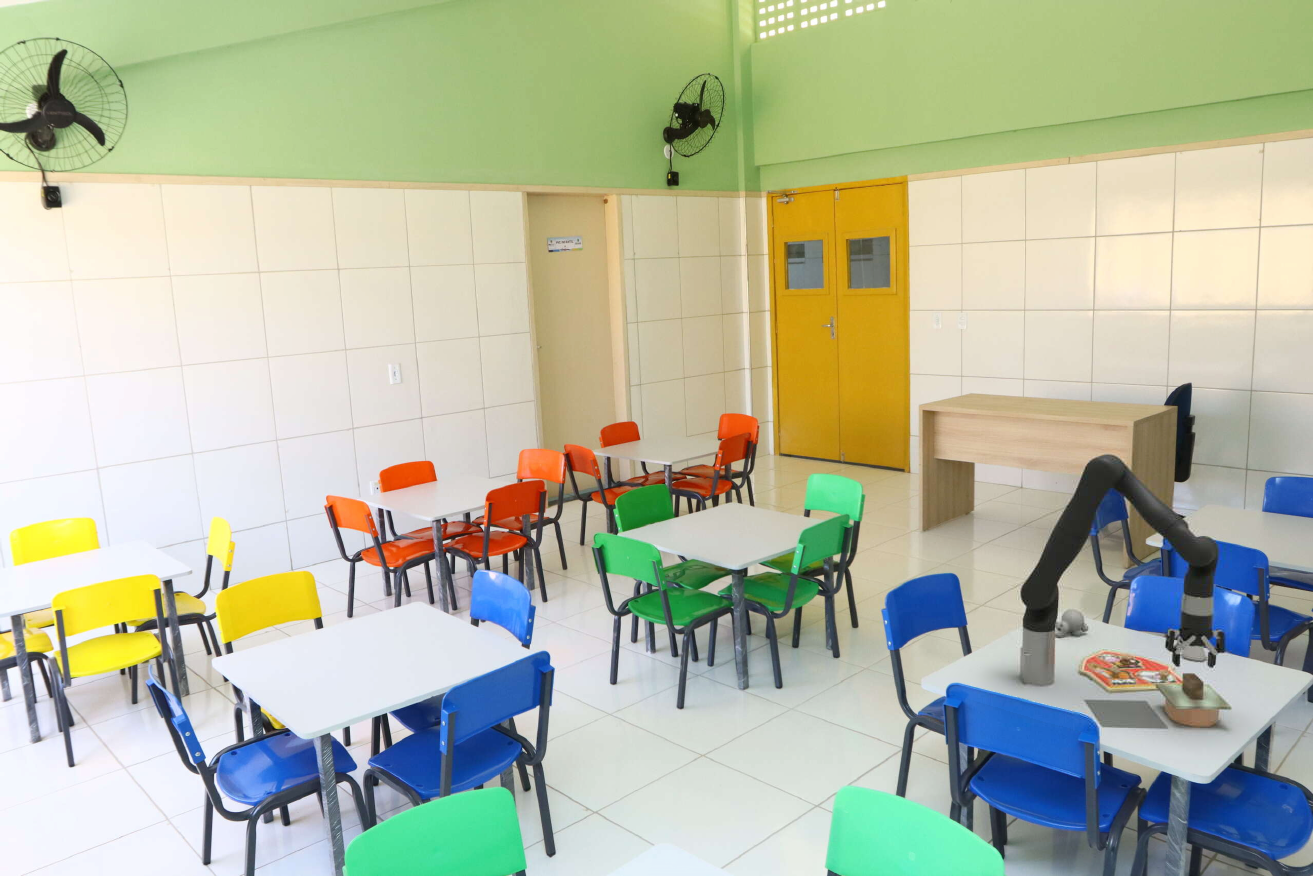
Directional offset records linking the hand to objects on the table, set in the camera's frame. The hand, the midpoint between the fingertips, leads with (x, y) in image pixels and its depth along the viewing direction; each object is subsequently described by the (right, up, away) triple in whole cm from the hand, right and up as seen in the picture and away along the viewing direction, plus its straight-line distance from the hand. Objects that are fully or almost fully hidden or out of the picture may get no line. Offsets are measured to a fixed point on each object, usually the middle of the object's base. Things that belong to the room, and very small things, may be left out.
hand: (1193, 666), depth 256 cm
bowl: (+1, -15, +2) cm, 15 cm away
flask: (+24, -8, +42) cm, 49 cm away
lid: (0, -9, +1) cm, 9 cm away
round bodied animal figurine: (-6, -5, +65) cm, 65 cm away
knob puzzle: (-1, -11, +34) cm, 36 cm away
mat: (-16, -15, +6) cm, 23 cm away
